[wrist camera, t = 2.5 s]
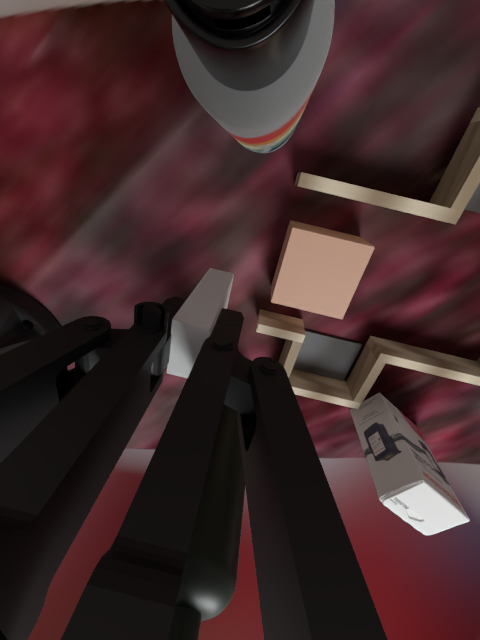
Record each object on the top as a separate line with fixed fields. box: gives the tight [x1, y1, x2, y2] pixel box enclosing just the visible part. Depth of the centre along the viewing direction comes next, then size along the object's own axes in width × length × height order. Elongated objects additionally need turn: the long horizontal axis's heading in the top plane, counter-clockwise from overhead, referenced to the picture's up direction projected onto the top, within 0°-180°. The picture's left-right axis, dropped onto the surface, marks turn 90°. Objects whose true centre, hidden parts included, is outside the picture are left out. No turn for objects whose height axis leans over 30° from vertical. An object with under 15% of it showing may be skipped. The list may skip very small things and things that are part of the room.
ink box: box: [350, 393, 470, 535], centre depth 31 cm, size 8×5×12 cm, turn 49°
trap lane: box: [256, 107, 480, 409], centre depth 26 cm, size 26×29×4 cm
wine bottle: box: [167, 404, 245, 640], centre depth 23 cm, size 6×6×30 cm
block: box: [271, 220, 375, 319], centre depth 26 cm, size 7×7×4 cm
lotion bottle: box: [164, 0, 335, 153], centre depth 14 cm, size 6×6×20 cm
